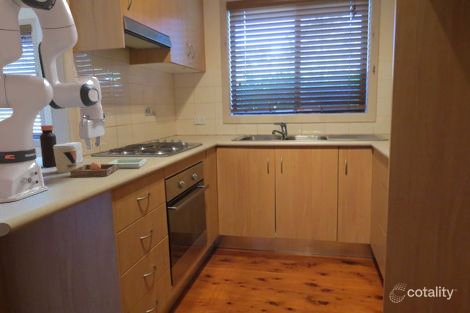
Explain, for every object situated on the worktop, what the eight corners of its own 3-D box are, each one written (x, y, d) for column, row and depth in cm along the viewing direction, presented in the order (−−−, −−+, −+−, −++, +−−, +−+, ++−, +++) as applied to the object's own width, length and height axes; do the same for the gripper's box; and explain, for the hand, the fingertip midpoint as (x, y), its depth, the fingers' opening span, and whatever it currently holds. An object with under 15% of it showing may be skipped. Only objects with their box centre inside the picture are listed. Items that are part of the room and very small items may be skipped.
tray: (139, 168, 154) (139, 163, 154) (106, 168, 153) (106, 164, 153) (146, 162, 169) (146, 158, 169) (116, 163, 168) (116, 159, 168)
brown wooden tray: (107, 176, 137) (106, 170, 136) (70, 177, 136) (70, 171, 135) (118, 169, 152) (118, 163, 152) (85, 170, 151) (85, 164, 151)
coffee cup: (69, 173, 144) (66, 146, 142) (50, 172, 146) (47, 145, 144) (82, 169, 153) (80, 143, 151) (65, 169, 155) (62, 143, 153)
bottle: (40, 166, 162) (36, 125, 159) (54, 164, 167) (50, 125, 164) (46, 168, 158) (42, 126, 155) (61, 166, 163) (57, 125, 160)
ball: (99, 172, 142) (98, 162, 141) (88, 172, 142) (88, 162, 141) (102, 170, 146) (102, 160, 145) (92, 170, 146) (91, 161, 145)
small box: (74, 161, 176) (72, 142, 175) (83, 162, 175) (81, 142, 173) (62, 164, 168) (61, 143, 167) (72, 164, 167) (70, 143, 165)
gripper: (89, 115, 130) (92, 150, 132) (107, 114, 150) (109, 144, 152) (73, 116, 130) (76, 151, 132) (92, 114, 150) (95, 145, 152)
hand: (94, 147), depth 142 cm, fingers open, 8 cm apart
